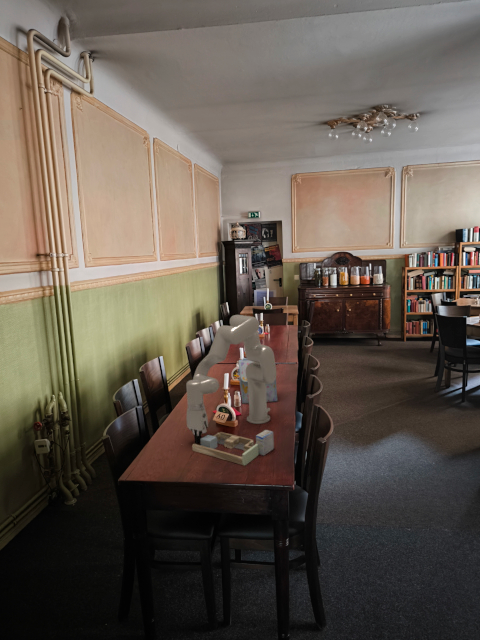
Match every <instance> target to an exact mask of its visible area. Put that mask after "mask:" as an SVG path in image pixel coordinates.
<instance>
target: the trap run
mask: <svg viewBox="0 0 480 640" xmlns="http://www.w3.org/2000/svg"><path fill="white" fill-rule="evenodd" d="M213 436H215V437H217V441H218V440H219V439H224V440H225V441H224V445H223V446H224V448H226V447H227V448H228V449H230V450H232V449H234V447H235V446H236V445H238V444H239V443H240V444H244V445H245V446H244V450H243V453H244V452H246V451H247V450H248V449H250V448H251V447H252V446H254V445H255V442H254V441H255V440H254V439H251V438H247V437H244V436H241V435H240V436H239V435H235V434H231V433H226V432H223V431H220V432H217V433H215V434H214V435H213ZM191 448H192V451H193V452H196V453H200V454H203V455H206V456H209V457H214V458H216V459H221V460H224V461H228V462H231V463H234V464H237V465H241V466H244V465H243V462H242V455H241V456H239V455H236V454H233V453H231V452H230V453H229V452H225V451H222V450H218V449H216V448H215V449H212V448H208V447H204V446H201V444H197V443H193V444H192V446H191ZM227 448H226V449H227Z"/></svg>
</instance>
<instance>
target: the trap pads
mask: <svg viewBox="0 0 480 640" xmlns="http://www.w3.org/2000/svg"><path fill="white" fill-rule="evenodd" d="M224 441H225V440H224V439H219V440H218V441H217V445H218V444H219V445H222V446H224ZM244 446H245V445H244V444H240V443H239V444H238V445H236V446H235V447H233V449H237V450H240V451H244Z"/></svg>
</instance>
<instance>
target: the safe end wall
mask: <svg viewBox="0 0 480 640" xmlns="http://www.w3.org/2000/svg"><path fill="white" fill-rule="evenodd" d="M258 456H260V454H259V446H258V444H256V443H254V446H252V447H251V448H250V449H248V450H247V451H246V452H244V451H243V453H242V454H241V457H242V462H243V465H242V466H247V465H248V464H249V463H251V462H252V461H253V460H254V459H255V458H257V457H258Z"/></svg>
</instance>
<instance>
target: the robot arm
mask: <svg viewBox="0 0 480 640" xmlns="http://www.w3.org/2000/svg"><path fill="white" fill-rule="evenodd" d="M259 328H260V322H259V319H258V318H256V317H254V316H250V315H242V314H235V315H234V314H233V315H232V316H231V317H230V318H229V325H220V326H219V327H218V328H217V330H216V332H215V334H214V335H215V336H214V338H213V341H212V344H211V346H210V350H209V351H208V354H207V355H205V357H204V358H203V359H202V360H201V361H200V362H199V363H198V365H197V367H196V369H195V371H194V375H193V377H192V379H190V380H188V381H186V384H185V385H186V387H185V388H186V400H187V409H186V426H187V429H188V430H189V431H191V432H192V435H193V438H194V444H197V445H199V443H200V444H201V440H200V439H201V438H202V434H206V433H207V432H208V430H207V429H208V428H209V419H208V414H207V411H206V406H205V405H204V395H208V394H209V395H210V394H214V393H216V392H218V390H219V388H220V382H219V381H218V379H217V378H214V377H212V376H208V373H209V372H210V369H211V368H212V367H213V366H215V365H216V364H218V363H221V362H224V361H225V360H226V358H227V355H228V353H229V349H230V346H231V345H238V344H242V343H243V347H244V353H245V358H247V359H248V360H250V361H253V362H252V363H250V364H248V366H247V367H246V377H247V381H248V391H249V403H248V409H249V410H248V411H249V415H247V417H246V421H247V422H248V423H250V424H254V425H255V424H257V425H260V424H261V425H262V424H266V423H268V422H269V421H270V420H271V416H270V415H269V414H268V412H270V411H271V408H270V407H268V406H267V405H268V404H267V400H266V385H265V383H266V384H270V383H273V382H274V381H275V379H276V380H277V365H276V360H275V353H274V351H273V349H272V347H270V346H268V345H265V344H262V343H261V341H260V340H261V339H260V335H259V332H258V330H259Z"/></svg>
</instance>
